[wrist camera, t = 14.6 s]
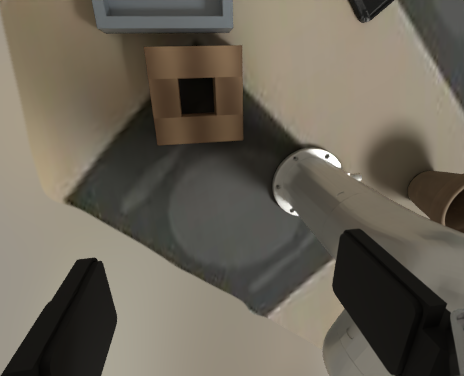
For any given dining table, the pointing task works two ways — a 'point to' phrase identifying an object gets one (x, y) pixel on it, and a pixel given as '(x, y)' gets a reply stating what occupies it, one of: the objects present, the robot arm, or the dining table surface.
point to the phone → (368, 8)
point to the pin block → (196, 66)
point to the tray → (163, 16)
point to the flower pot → (440, 197)
